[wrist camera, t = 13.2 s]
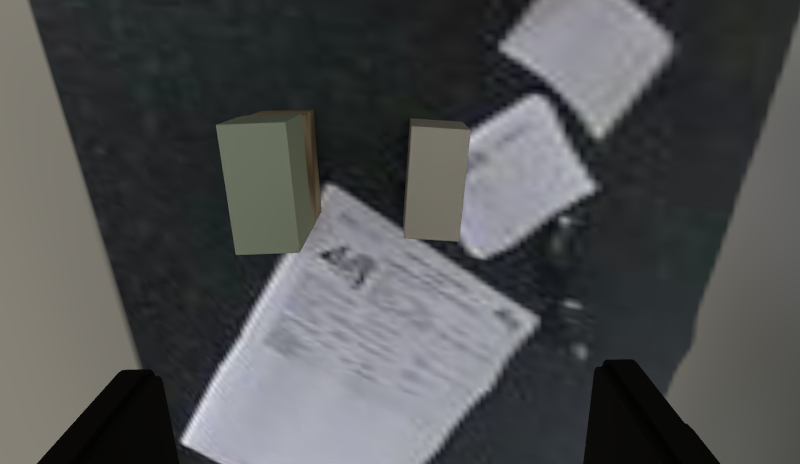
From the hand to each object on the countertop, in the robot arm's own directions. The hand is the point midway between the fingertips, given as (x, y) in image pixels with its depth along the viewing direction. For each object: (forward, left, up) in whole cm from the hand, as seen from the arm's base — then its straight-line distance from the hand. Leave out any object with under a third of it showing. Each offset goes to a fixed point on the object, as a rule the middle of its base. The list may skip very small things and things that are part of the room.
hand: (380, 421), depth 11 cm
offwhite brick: (+1, +3, -31) cm, 31 cm away
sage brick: (0, -8, -25) cm, 27 cm away
